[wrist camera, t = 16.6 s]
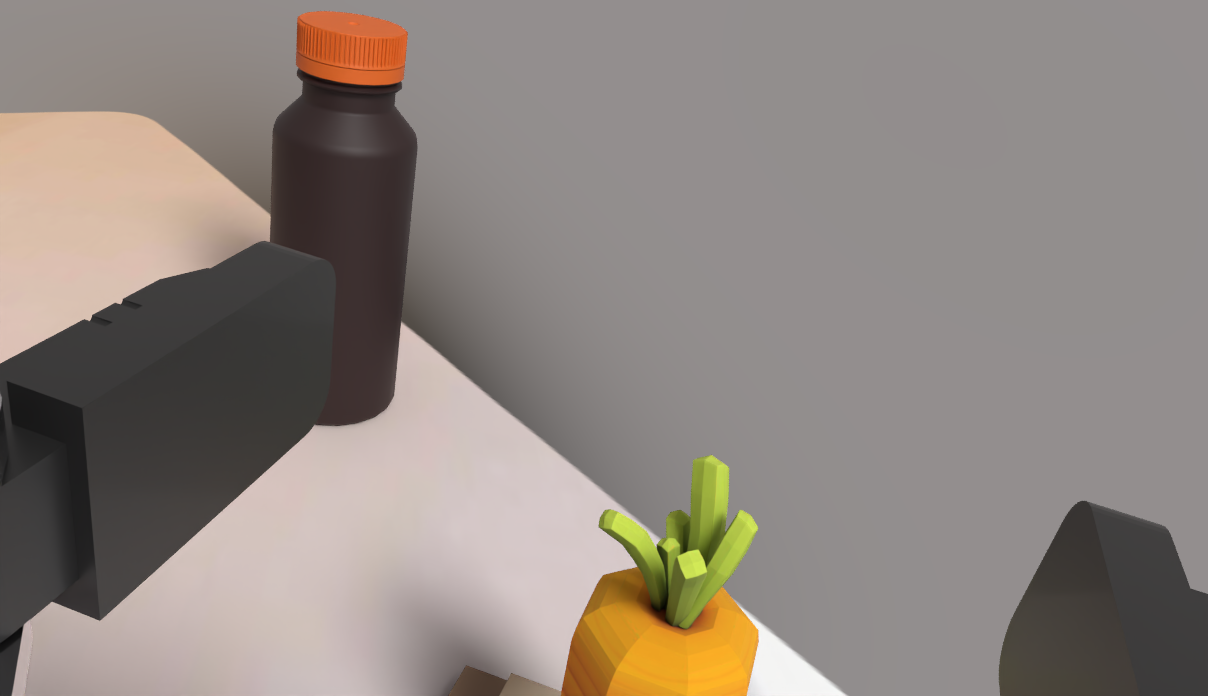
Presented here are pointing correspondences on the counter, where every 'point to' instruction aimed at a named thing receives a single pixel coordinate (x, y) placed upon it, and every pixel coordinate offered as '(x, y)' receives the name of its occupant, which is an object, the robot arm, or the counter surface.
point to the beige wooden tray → (497, 685)
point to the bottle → (350, 195)
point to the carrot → (670, 605)
